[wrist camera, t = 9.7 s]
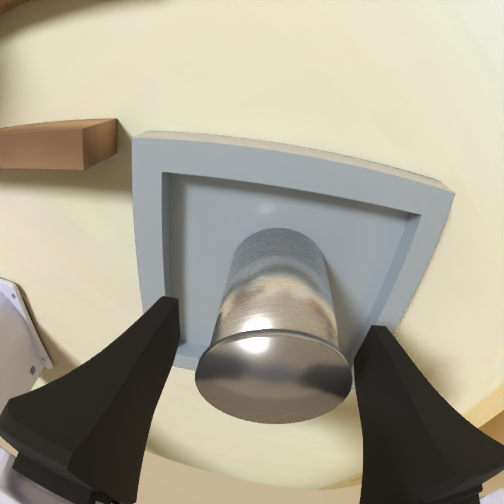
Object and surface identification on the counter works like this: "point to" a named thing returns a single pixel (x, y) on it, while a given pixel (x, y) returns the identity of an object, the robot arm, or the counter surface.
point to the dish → (278, 226)
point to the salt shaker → (275, 335)
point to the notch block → (56, 139)
